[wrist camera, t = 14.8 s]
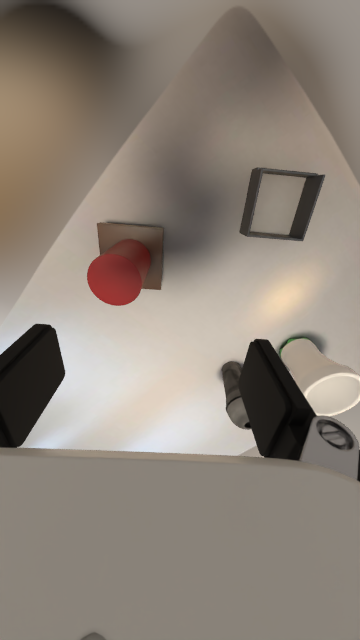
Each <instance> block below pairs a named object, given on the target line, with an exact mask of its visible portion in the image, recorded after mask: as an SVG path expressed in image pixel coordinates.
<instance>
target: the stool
mask: <svg viewBox="0 0 360 640" xmlns="http://www.w3.org/2000/svg"><path fill="white" fill-rule="evenodd" d="M97 228H98V238H99V248H100V255H101V254H103V253H104V252H106V251H107V250H108V249H110V248H111V247H113V246H114V245H115V244H117V243H118V242H120V241H122V240H125V239H134V240H137V241H139V242H141V243H142V244H143V245H144V246H145V247H146V248H147V250H148V251H149V254H150V258H151V264H150V268H149V270H148V273H147V275H146V278H145V281H144V283H143V286H142V288H141V289H156V290H161V280H162V255H163V230H164V228H161V227H149V226H137V225H125V224H113V223H101V222H100V223H97Z"/></svg>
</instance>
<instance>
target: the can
mask: <svg viewBox="0 0 360 640" xmlns="http://www.w3.org/2000/svg"><path fill="white" fill-rule="evenodd" d="M150 264H151V258H150V254H149V251H148V250H147V248H146V247H145V246H144V245H143V244H142V243H141V242H139V241H137V240H134V239H125V240H122V241H120V242H118V243H117V244H115V245H114V246H113V247H111V248H110V249H108V250H107V251H106V252H104V253H103V254H101V255H100V256H99V257H97V258H96V259H95V260H94V261H93V262H92V263H91V264H90V266H89V269H88V273H87V280H88V284H89V287H90V289H91V290H92V292H93V293H94V295H95V296H96V297H97V298H99V299H100V300H101V301H103V302H105V303H107V304H110V305H116V306H120V305H126V304H128V303H130V302H132V301H134V300H135V299H136V298H137V296H138V295H139V293H140V291H141V288H142V286H143V283H144V281H145V278H146V275H147V273H148V270H149V268H150Z"/></svg>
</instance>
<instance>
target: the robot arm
mask: <svg viewBox="0 0 360 640" xmlns="http://www.w3.org/2000/svg"><path fill="white" fill-rule="evenodd" d="M64 376H65V369H64V365H63V360H62V356H61V352H60V347H59V343H58V338H57V334H56V330H55V329H54V328H52V327H51V325H47V324H35V325H33V326H32V327H31V328H30V329H29V330H28V331H27V332H26V333H24V334H23V335H22V336H21V337H20V338H19V339H18V340H17V341H15V342H14V343H13V344H12V345H11V346H10V347H9V348H8V349H6V350H5V351H4V352H3V353H2V354H1V355H0V640H360V450H359V443H358V441H357V439H356V437H355V435H354V434H353V433H352V432H351V430H350V429H349V428H347V427H346V426H345V425H344V424H342V423H341V422H339V421H338V420H336V419H334V418H331V417H328V416H324V415H321V416H317V415H316V414H315V412H314V410H313V409H312V407H311V406H310V404H309V402H308V401H307V399H306V398H305V396H304V395H303V393H302V392H301V390H300V388H299V387H298V385H297V384H296V382H295V381H294V379H293V378H292V376H291V374H290V373H289V371H288V370H287V368H286V367H285V365H284V364H283V362H282V361H281V359H280V357H279V356H278V354H277V353H276V351H275V350H274V348H273V347H272V345H271V343H270V342H269V341H268V340H265V339H255V340H254V342H251V343H250V345H249V349H248V352H247V355H246V358H245V361H244V365H243V368H242V371H241V374H240V378H239V381H238V388H239V391H240V394H241V397H242V401H243V404H244V407H245V410H246V413H247V416H248V419H249V422H250V425H251V428H252V431H253V434H254V438H255V441H256V444H257V447H258V450H259V453H260V454H261V455H262V456H264V458H262V457H261V458H260V457H245V456H226V455H203V454H180V453H154V452H128V451H101V450H71V449H40V448H17V447H19V446H21V445H22V444H23V443H24V441H25V440H26V438H27V436H28V435H29V433H30V432H31V430H32V428H33V427H34V425H35V424H36V422H37V420H38V419H39V417H40V416H41V414H42V412H43V411H44V409H45V408H46V406H47V404H48V403H49V401H50V400H51V398H52V396H53V395H54V393H55V392H56V390H57V388H58V387H59V385H60V384H61V382H62V380H63V379H64Z"/></svg>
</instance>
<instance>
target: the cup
mask: <svg viewBox="0 0 360 640" xmlns="http://www.w3.org/2000/svg"><path fill="white" fill-rule="evenodd" d="M280 355H281V359H282V361H283V362H284V364H285V365H286V366H287V367H288V368H289V370H290V371H291V373H292V375H293V377H294V380H295V382H296V384H297V385H298V387H299V388H300V390H301V392H302V393H303V395H304V396H305V398H306V399H307V401H308V402H309V404H310V406H311V407H312V409H313V410H314V412H315V414H316V415H317V416H321V415H324V416H331V415H336V414H339V413H342V412H344V411H346V410H348V409H350V408H352V407H353V406H354V405H356V404H357V403H358V402H359V401H360V376H359V375H358V374H357V373H356V372H355V371H354V370H352V369H351V368H349V367H347V366H344V365H340V364H338V363H336V362H334V361H332V360H330V359H328V358H327V357H325V356H324V355H323V354H322V353H321V352H320V351H318V348H317V347H316V346H315V345H314V344H313V343H312V342H311V341H310V340H309V339H307V338H305V337H304V338H302V339H289V340H288V341H287V344H286V345H285V347H284V348H282V349H281V350H280Z"/></svg>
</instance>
